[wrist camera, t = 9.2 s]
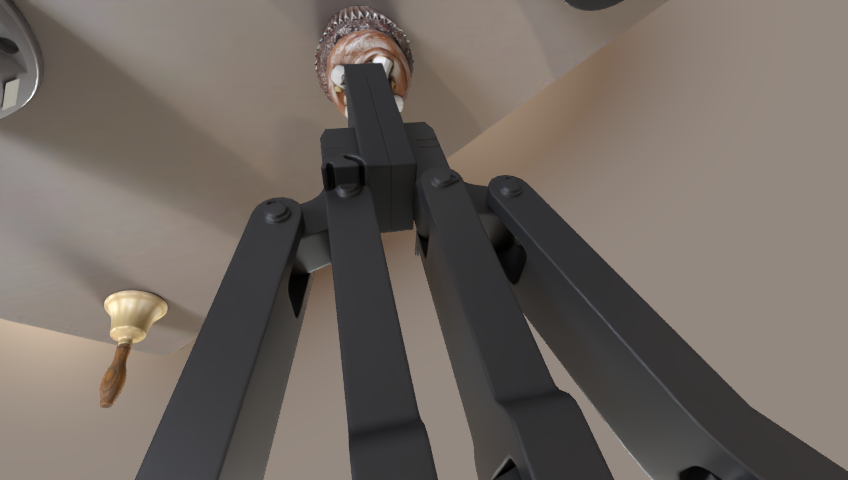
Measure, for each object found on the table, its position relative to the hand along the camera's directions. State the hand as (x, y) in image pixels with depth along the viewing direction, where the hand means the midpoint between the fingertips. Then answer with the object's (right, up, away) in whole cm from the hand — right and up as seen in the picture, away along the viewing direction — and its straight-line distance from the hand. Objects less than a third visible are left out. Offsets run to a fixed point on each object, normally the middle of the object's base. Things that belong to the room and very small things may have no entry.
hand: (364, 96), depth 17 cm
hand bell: (-43, -16, +47) cm, 65 cm away
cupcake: (-4, +15, +26) cm, 30 cm away
